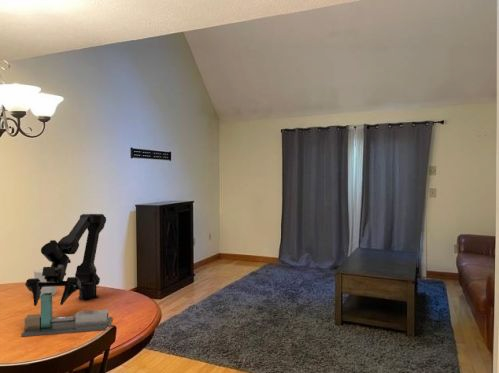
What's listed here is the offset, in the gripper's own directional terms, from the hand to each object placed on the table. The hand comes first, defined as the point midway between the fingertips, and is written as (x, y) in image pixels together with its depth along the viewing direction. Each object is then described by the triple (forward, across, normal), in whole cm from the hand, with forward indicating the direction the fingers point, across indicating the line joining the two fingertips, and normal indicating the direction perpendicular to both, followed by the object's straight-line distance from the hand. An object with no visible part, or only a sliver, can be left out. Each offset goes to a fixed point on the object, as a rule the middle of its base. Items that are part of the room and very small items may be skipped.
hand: (48, 305), depth 139 cm
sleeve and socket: (+7, +8, +5) cm, 12 cm away
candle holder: (-22, -16, +35) cm, 44 cm away
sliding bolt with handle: (+6, +4, +4) cm, 8 cm away
